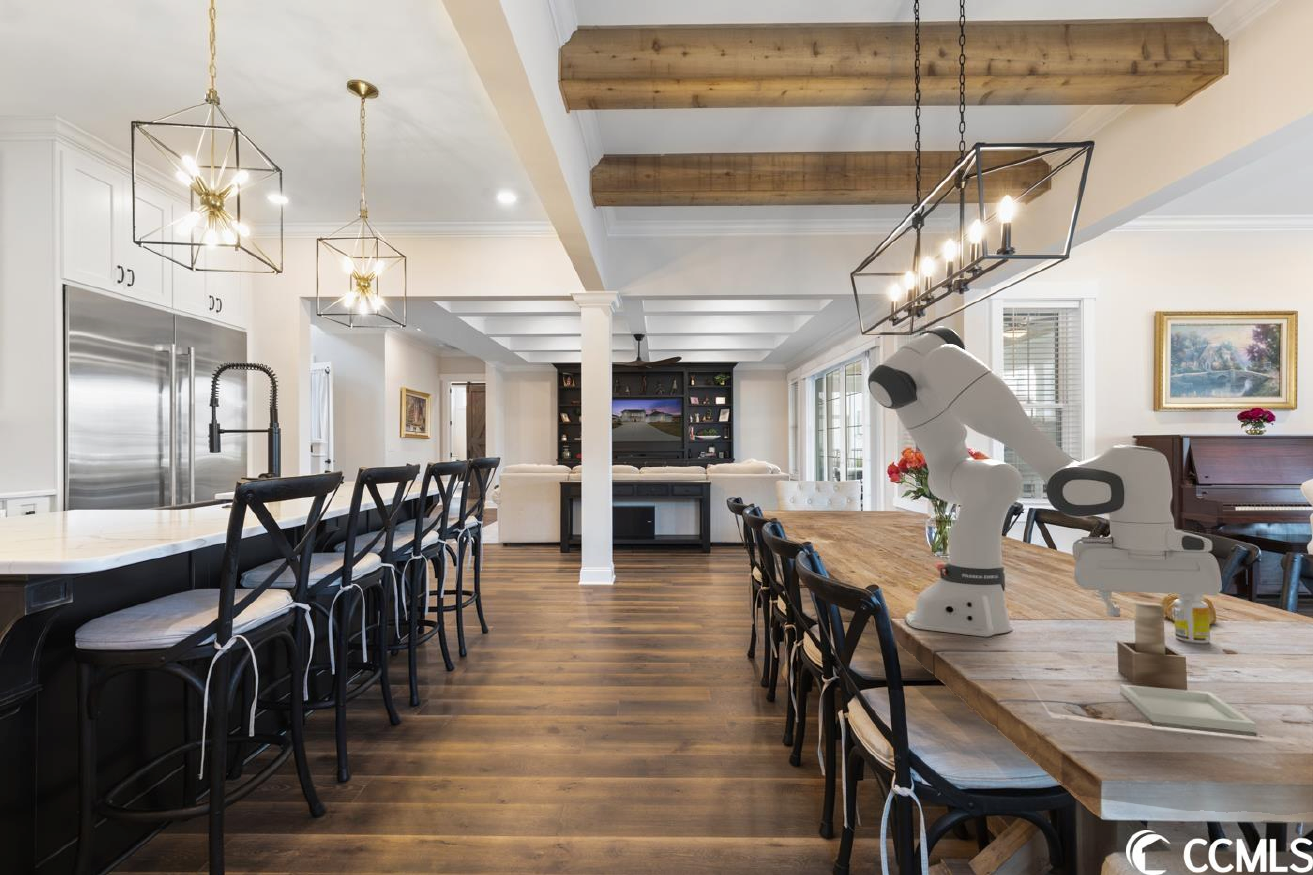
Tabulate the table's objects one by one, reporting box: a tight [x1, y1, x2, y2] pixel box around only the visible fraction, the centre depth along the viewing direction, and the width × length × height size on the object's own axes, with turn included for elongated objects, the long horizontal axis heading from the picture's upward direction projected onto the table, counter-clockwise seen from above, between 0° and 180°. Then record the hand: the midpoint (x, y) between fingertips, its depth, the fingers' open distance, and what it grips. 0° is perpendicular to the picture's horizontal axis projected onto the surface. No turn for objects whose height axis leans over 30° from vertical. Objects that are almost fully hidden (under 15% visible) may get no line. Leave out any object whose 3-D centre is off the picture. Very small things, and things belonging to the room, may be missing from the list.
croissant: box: [1158, 593, 1217, 625], centre depth 146 cm, size 21×10×8 cm, turn 141°
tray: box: [1119, 683, 1258, 737], centre depth 93 cm, size 12×12×2 cm
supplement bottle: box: [1174, 594, 1211, 644], centre depth 130 cm, size 6×6×10 cm
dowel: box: [1133, 601, 1166, 655], centre depth 106 cm, size 4×4×13 cm
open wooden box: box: [1116, 640, 1188, 690], centre depth 105 cm, size 7×7×6 cm
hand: (1146, 618), depth 105 cm, fingers open, 8 cm apart
